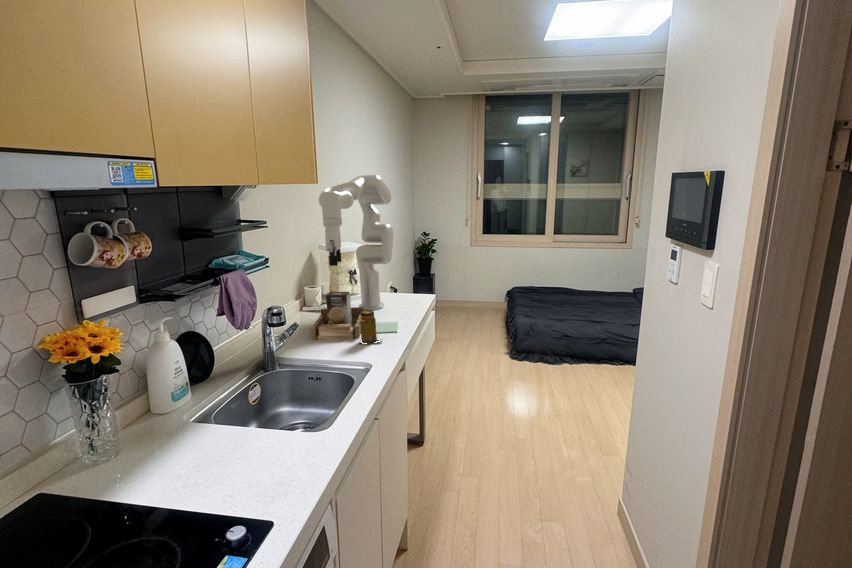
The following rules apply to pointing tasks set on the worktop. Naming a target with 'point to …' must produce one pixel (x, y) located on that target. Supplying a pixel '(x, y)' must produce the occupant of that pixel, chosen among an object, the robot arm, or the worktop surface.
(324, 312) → the rack
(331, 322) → the coffee box
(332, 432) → the worktop surface
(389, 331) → the mat
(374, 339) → the condiment
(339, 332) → the offcut stack
